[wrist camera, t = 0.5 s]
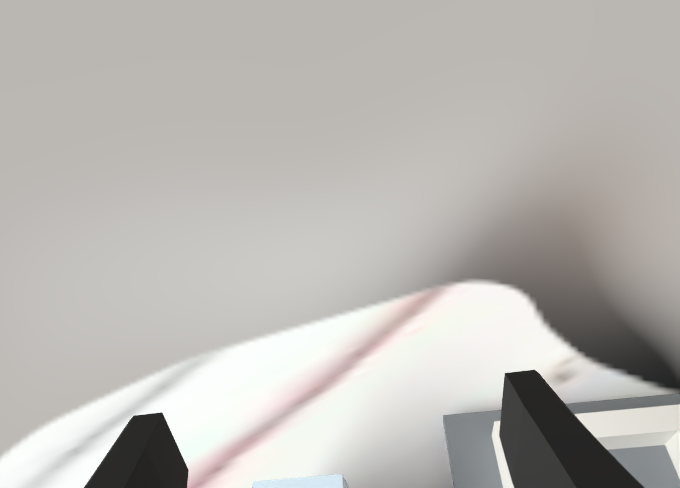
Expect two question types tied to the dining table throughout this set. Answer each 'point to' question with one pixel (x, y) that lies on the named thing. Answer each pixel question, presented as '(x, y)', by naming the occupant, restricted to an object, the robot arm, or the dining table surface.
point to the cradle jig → (599, 418)
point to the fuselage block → (305, 482)
